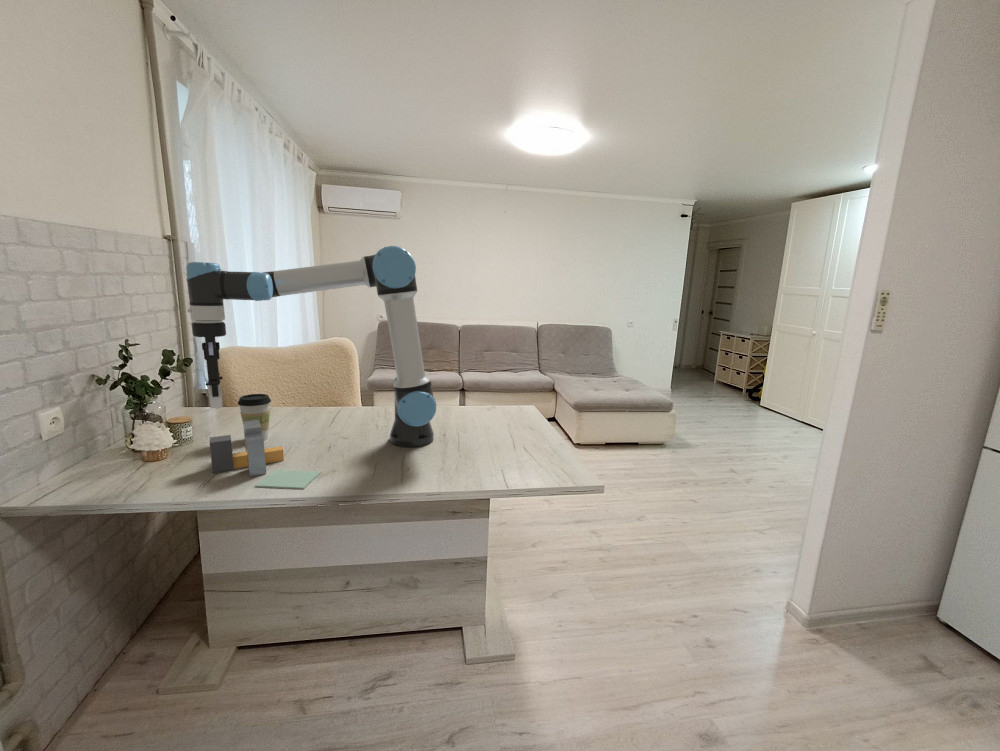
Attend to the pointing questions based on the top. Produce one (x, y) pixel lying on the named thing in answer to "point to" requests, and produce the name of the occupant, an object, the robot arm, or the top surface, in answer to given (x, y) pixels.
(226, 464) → the plug
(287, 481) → the mat
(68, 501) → the top surface
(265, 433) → the coffee cup
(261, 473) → the block
